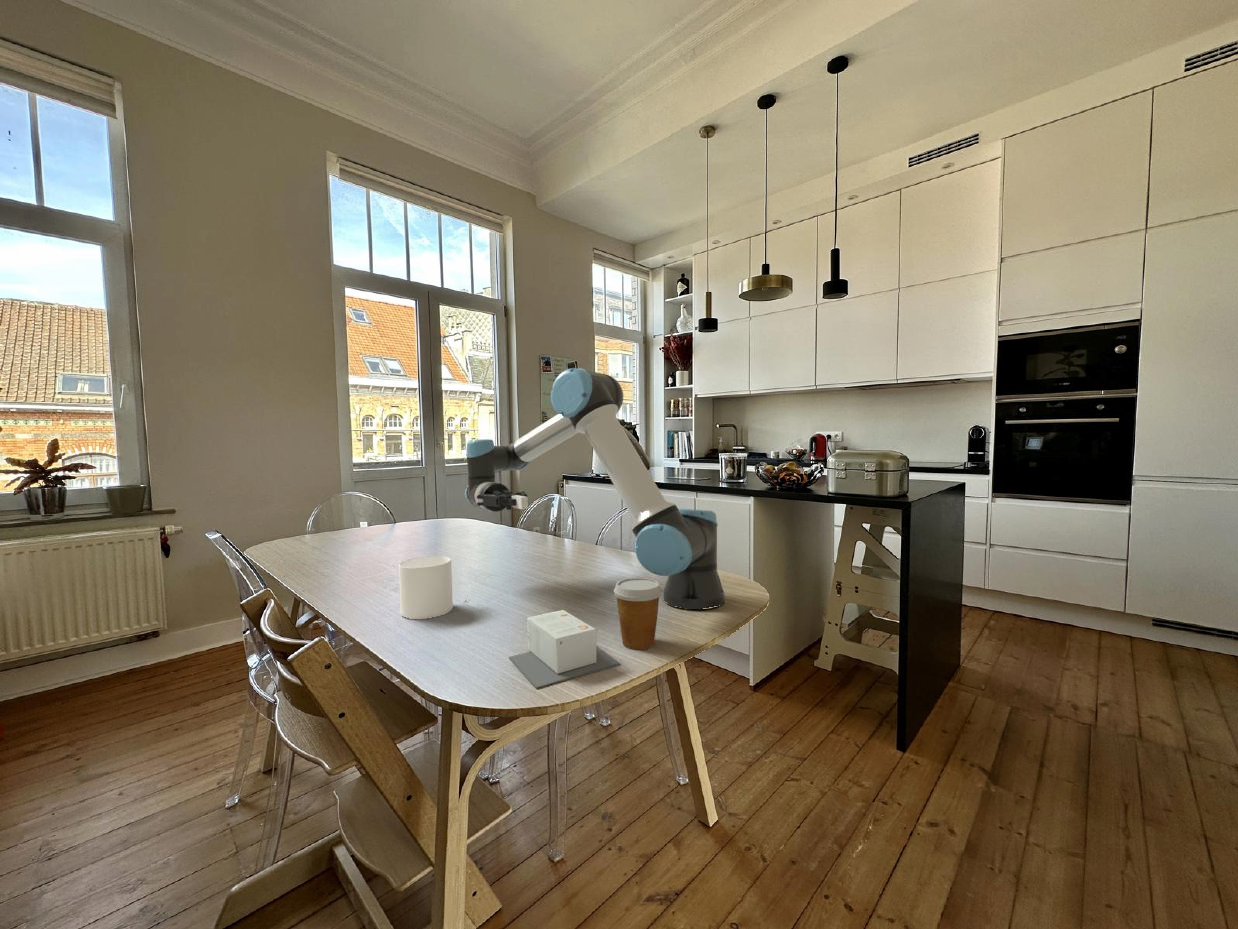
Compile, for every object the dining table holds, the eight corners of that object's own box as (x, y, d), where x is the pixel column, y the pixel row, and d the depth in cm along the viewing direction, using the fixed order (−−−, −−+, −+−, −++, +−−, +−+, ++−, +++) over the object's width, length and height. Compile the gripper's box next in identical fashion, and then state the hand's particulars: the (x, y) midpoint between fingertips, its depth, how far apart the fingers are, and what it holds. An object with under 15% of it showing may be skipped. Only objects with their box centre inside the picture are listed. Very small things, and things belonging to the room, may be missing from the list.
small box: (527, 649, 94) (556, 675, 83) (526, 617, 94) (556, 638, 83) (564, 640, 99) (597, 663, 88) (564, 609, 99) (597, 628, 88)
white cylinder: (431, 600, 126) (429, 554, 126) (463, 607, 120) (461, 559, 120) (390, 614, 116) (388, 564, 115) (422, 623, 110) (420, 570, 110)
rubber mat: (585, 639, 99) (585, 638, 99) (619, 664, 88) (619, 662, 88) (509, 658, 91) (508, 656, 91) (536, 689, 80) (536, 687, 80)
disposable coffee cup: (666, 652, 93) (665, 589, 92) (616, 654, 92) (615, 591, 92) (658, 632, 102) (657, 576, 102) (612, 635, 102) (611, 577, 101)
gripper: (516, 508, 135) (551, 516, 115) (468, 512, 128) (497, 522, 108) (515, 481, 135) (550, 484, 114) (467, 484, 128) (495, 488, 108)
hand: (524, 503), depth 111 cm, fingers closed
